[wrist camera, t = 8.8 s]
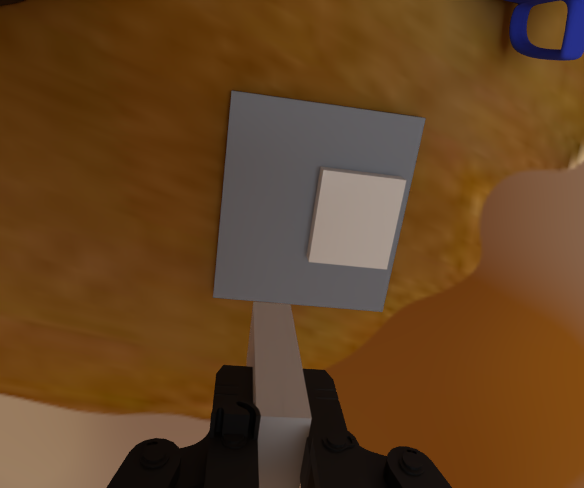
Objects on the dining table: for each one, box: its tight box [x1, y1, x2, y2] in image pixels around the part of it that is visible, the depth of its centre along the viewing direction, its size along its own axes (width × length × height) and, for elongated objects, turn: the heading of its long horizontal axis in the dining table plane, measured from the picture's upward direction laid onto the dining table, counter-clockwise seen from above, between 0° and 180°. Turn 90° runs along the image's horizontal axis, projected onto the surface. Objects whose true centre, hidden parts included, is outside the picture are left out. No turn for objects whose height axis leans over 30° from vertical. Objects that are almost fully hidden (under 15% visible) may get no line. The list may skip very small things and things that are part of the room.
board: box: [213, 90, 426, 312], centre depth 40 cm, size 18×16×2 cm
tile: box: [307, 167, 406, 270], centre depth 39 cm, size 8×2×7 cm
